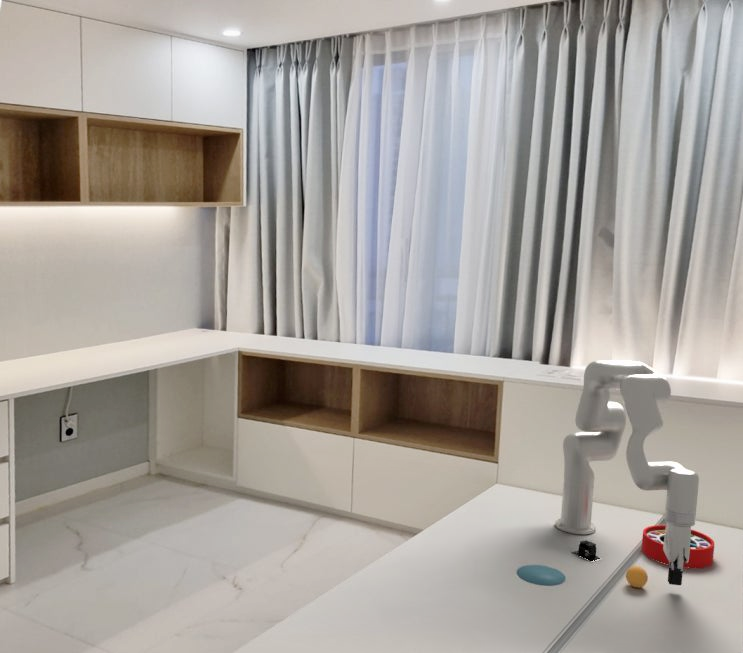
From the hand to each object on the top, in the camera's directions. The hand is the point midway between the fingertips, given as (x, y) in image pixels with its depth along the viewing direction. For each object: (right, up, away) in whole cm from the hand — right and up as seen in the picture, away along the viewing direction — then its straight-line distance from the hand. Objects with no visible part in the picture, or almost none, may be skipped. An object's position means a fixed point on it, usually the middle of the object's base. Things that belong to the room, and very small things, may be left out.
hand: (674, 583), depth 208 cm
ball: (-9, +1, +2) cm, 10 cm away
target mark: (-34, 0, +7) cm, 35 cm away
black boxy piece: (-17, 0, +22) cm, 28 cm away
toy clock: (+11, -1, +27) cm, 29 cm away
